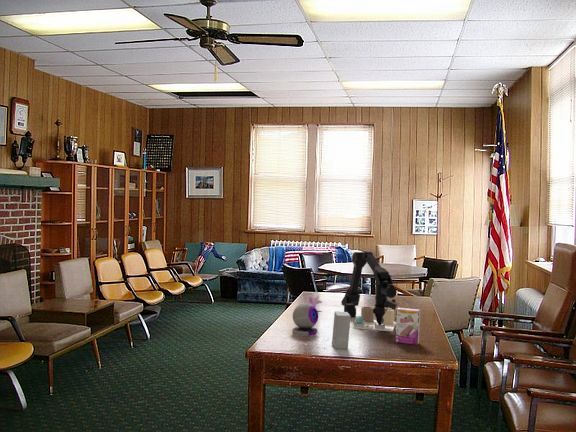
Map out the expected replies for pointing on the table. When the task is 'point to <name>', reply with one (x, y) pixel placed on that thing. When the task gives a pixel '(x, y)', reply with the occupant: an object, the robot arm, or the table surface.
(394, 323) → the board
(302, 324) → the eyeball
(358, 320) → the teal ball
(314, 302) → the lily
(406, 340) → the candy bar box
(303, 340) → the table surface
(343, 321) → the skincare box
